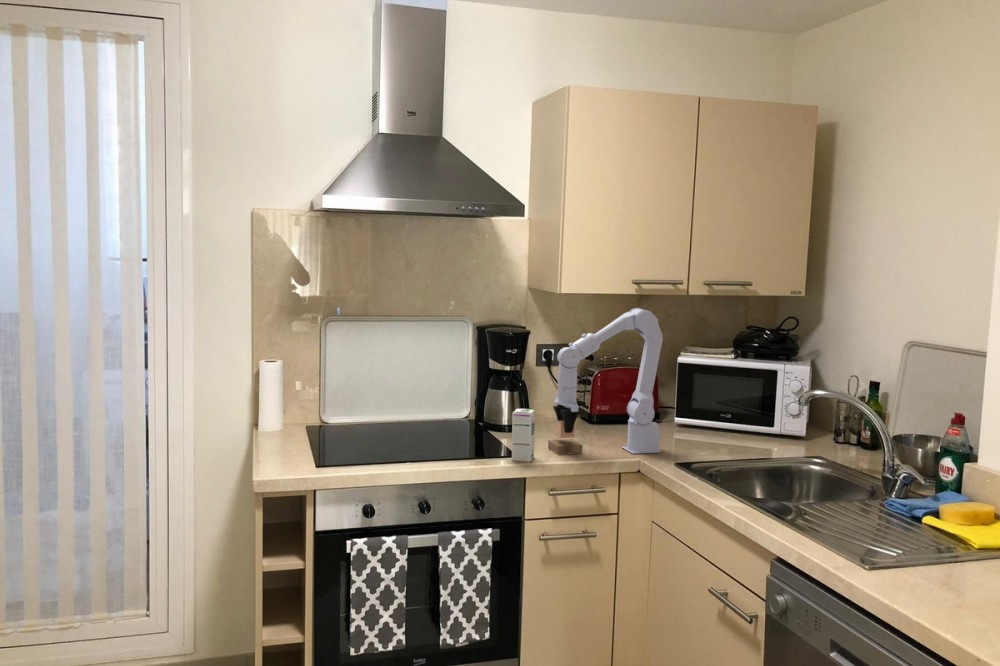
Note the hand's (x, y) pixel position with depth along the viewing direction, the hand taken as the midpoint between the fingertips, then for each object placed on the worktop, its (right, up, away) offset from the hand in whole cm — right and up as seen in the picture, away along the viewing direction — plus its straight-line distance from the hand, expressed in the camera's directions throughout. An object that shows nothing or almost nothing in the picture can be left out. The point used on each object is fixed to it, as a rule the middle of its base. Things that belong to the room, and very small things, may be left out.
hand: (565, 430), depth 255 cm
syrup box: (-13, -7, -11) cm, 19 cm away
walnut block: (0, -7, +1) cm, 7 cm away
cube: (0, -2, 0) cm, 2 cm away
